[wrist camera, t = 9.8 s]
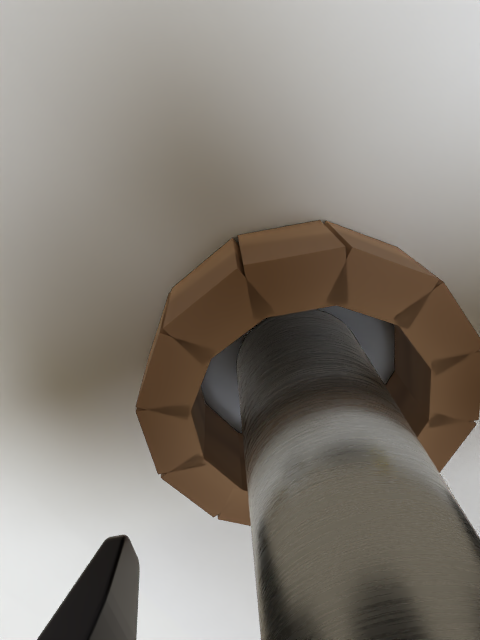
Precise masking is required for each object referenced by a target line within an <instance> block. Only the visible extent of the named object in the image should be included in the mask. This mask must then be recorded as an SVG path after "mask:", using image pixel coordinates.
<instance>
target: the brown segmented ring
mask: <svg viewBox="0 0 480 640" xmlns="http://www.w3.org/2000/svg"><path fill="white" fill-rule="evenodd" d="M238 240H239V245H240V246H239V245H238V243H237V242H236V241H235V240H234V239H233V238H231V239H230V240H229V241H228V242H227V243H225V244H224V245H223V246H222V247H221V248H219V249H218V250H217V251H216V252H215V253H214V254H212V255H211V256H210V257H209V258H208V259H206V260H205V261H204V262H203V263H202V264H200V265H199V266H198V267H197V268H196V269H194V270H193V271H192V272H191V273H190V274H188V275H187V276H186V277H185V278H184V279H182V280H181V281H180V282H179V283H178V284H176V285H175V286H174V287H173V288H172V290H171V293H169V294H168V297H167V301H166V304H165V307H164V310H163V313H162V316H161V319H160V323H159V326H158V329H157V332H156V335H155V338H154V341H153V344H152V348H151V351H150V354H149V357H148V361H147V365H146V369H145V373H144V376H143V380H142V384H141V388H140V392H139V396H138V400H137V403H136V407H137V409H136V414H137V417H138V420H139V422H140V425H141V428H142V431H143V434H144V436H145V439H146V442H147V445H148V447H149V450H150V453H151V456H152V459H153V461H154V464H155V467H156V470H157V473H158V474H161V478H162V479H163V480H164V481H166V482H167V483H168V484H170V485H171V486H172V487H174V488H175V489H176V490H178V491H179V492H180V493H182V494H183V495H184V496H186V497H187V498H188V499H190V500H191V501H192V502H194V503H195V504H196V505H198V506H199V507H200V508H202V509H203V510H204V511H206V512H207V513H208V514H210V515H211V516H212V517H215V516H217V515H218V519H219V520H224V521H229V522H234V523H239V524H244V525H249V526H251V522H250V511H249V500H248V489H247V478H246V467H245V456H244V445H243V434H241V433H238V432H237V431H236V430H234V429H233V428H232V427H231V426H230V425H229V424H228V423H227V422H225V421H224V420H223V419H222V418H221V417H220V416H219V415H218V414H216V413H215V412H214V411H213V410H212V409H211V408H210V407H209V406H208V405H206V404H205V400H204V396H203V393H202V389H201V384H202V381H203V378H204V376H205V373H206V371H207V368H208V366H209V363H210V361H211V359H212V358H213V357H214V356H216V355H217V354H218V353H220V352H221V351H222V350H224V349H225V348H226V347H228V346H229V345H230V344H232V343H233V342H234V341H236V340H237V339H238V338H239V337H241V336H242V335H243V334H245V333H246V332H247V331H249V330H250V329H251V328H253V327H254V326H255V325H257V324H258V323H259V322H261V321H262V320H263V319H265V318H268V317H274V316H279V315H285V314H290V313H296V312H302V311H307V310H313V309H318V308H324V307H330V306H335V305H337V306H340V307H343V308H346V309H349V310H352V311H356V312H359V313H362V314H365V315H368V316H371V317H374V318H377V319H380V320H383V321H386V322H389V323H392V324H394V325H395V371H394V373H393V374H392V376H391V378H390V379H389V381H388V382H387V384H386V388H387V390H388V391H389V393H390V394H391V396H392V398H393V399H394V401H395V402H396V404H397V406H398V407H399V409H400V410H401V412H402V414H403V415H404V417H405V419H406V420H407V422H408V423H409V425H410V427H411V428H412V430H413V431H414V433H415V435H416V436H417V438H418V439H419V441H420V443H421V444H422V446H423V447H424V449H425V451H426V452H427V454H428V456H429V457H430V459H431V460H432V462H433V464H434V465H435V467H436V468H437V470H438V472H439V473H440V471H441V470H442V469H443V467H444V466H445V465H446V464H447V462H448V461H449V460H450V458H451V457H452V456H453V454H454V453H455V452H456V450H457V449H458V448H459V446H460V445H461V444H462V443H463V441H464V440H465V439H466V437H467V436H468V435H469V433H470V432H471V431H472V429H473V428H474V427H475V426H476V423H475V422H474V420H478V419H479V410H480V337H479V336H478V334H477V333H476V331H475V330H474V328H473V327H472V325H471V323H470V322H469V320H468V319H467V317H466V316H465V314H464V313H463V311H462V310H461V308H460V306H459V305H458V303H457V302H456V300H455V299H454V297H453V296H452V294H451V293H450V291H449V289H448V288H447V286H446V285H445V283H444V282H443V281H441V280H440V279H439V278H438V277H436V276H435V275H434V274H432V273H431V272H430V271H428V270H427V269H426V268H424V267H423V266H422V265H420V264H419V263H418V262H416V261H415V260H414V259H412V258H411V257H410V256H408V255H407V254H406V253H404V252H403V251H402V250H400V249H399V248H398V247H395V246H393V245H390V244H387V243H385V242H382V241H379V240H377V239H374V238H371V237H369V236H366V235H363V234H361V233H358V232H355V231H353V230H350V229H347V228H344V227H342V226H339V225H336V224H334V223H331V222H328V221H325V223H324V224H323V223H322V222H321V221H320V220H318V221H312V222H307V223H301V224H296V225H290V226H285V227H280V228H274V229H269V230H263V231H258V232H252V233H247V234H242V235H238Z"/></svg>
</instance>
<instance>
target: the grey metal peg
mask: <svg viewBox="0 0 480 640" xmlns="http://www.w3.org/2000/svg"><path fill="white" fill-rule="evenodd" d="M237 379H238V390H239V401H240V412H241V423H242V434H243V445H244V456H245V467H246V478H247V489H248V500H249V511H250V522H251V533H252V544H253V555H254V566H255V577H256V588H257V599H258V610H259V621H260V632H261V640H480V538H479V536H478V534H477V533H476V531H475V530H474V528H473V526H472V525H471V523H470V522H469V520H468V518H467V517H466V515H465V514H464V512H463V510H462V509H461V507H460V505H459V504H458V502H457V501H456V499H455V497H454V496H453V494H452V493H451V491H450V489H449V488H448V486H447V485H446V483H445V481H444V480H443V478H442V476H441V475H440V473H439V472H438V470H437V468H436V467H435V465H434V464H433V462H432V460H431V459H430V457H429V456H428V454H427V452H426V451H425V449H424V447H423V446H422V444H421V443H420V441H419V439H418V438H417V436H416V435H415V433H414V431H413V430H412V428H411V427H410V425H409V423H408V422H407V420H406V419H405V417H404V415H403V414H402V412H401V410H400V409H399V407H398V406H397V404H396V402H395V401H394V399H393V398H392V396H391V394H390V393H389V391H388V390H387V388H386V386H385V385H384V383H383V381H382V380H381V378H380V377H379V375H378V373H377V372H376V370H375V369H374V367H373V365H372V364H371V362H370V361H369V359H368V357H367V356H366V354H365V352H364V351H363V349H362V348H361V346H360V344H359V343H358V341H357V340H356V338H355V336H354V335H353V333H352V332H351V330H350V329H349V328H348V327H347V326H346V325H345V324H344V323H343V322H342V321H341V320H339V319H338V318H336V317H334V316H333V315H331V314H328V313H326V312H322V311H319V310H307V311H302V312H296V313H290V314H285V315H279V316H274V317H269V318H267V319H266V320H264V321H263V322H261V323H260V324H259V325H257V326H256V327H255V328H254V329H253V330H252V331H251V332H250V333H249V334H248V336H247V337H246V339H245V340H244V342H243V344H242V346H241V347H240V350H239V353H238V357H237Z"/></svg>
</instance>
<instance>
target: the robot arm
mask: <svg viewBox="0 0 480 640" xmlns="http://www.w3.org/2000/svg"><path fill="white" fill-rule="evenodd" d="M138 592H139V560H138V557H137V555H136V553H135V550H134V548H133V546H132V544H131V541H130V539H129V538H128V536H126V535H119V536H113V537H109V538H107V539H106V540H105V541H104V542H103V544H102V545H101V547H100V548H99V550H98V551H97V552H96V554H95V555H94V557H93V558H92V560H91V561H90V563H89V564H88V566H87V567H86V569H85V570H84V572H83V573H82V574H81V576H80V577H79V579H78V580H77V582H76V583H75V585H74V586H73V588H72V589H71V591H70V592H69V593H68V595H67V596H66V598H65V599H64V601H63V602H62V604H61V605H60V607H59V608H58V610H57V611H56V613H55V614H54V615H53V617H52V618H51V620H50V621H49V623H48V624H47V626H46V627H45V629H44V630H43V632H42V633H41V634H40V636H39V637H38V639H37V640H136V634H137V613H138Z"/></svg>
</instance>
